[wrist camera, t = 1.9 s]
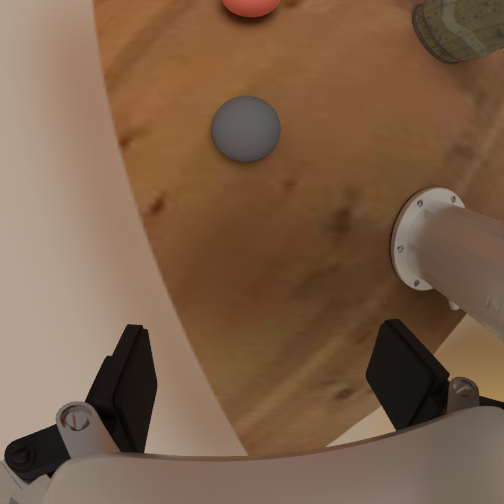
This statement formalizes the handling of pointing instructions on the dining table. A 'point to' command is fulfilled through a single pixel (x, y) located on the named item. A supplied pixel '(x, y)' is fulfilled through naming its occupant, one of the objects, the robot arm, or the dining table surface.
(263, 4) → the red ball
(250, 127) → the gray ball
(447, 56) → the thermos
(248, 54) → the dining table surface
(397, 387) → the robot arm
